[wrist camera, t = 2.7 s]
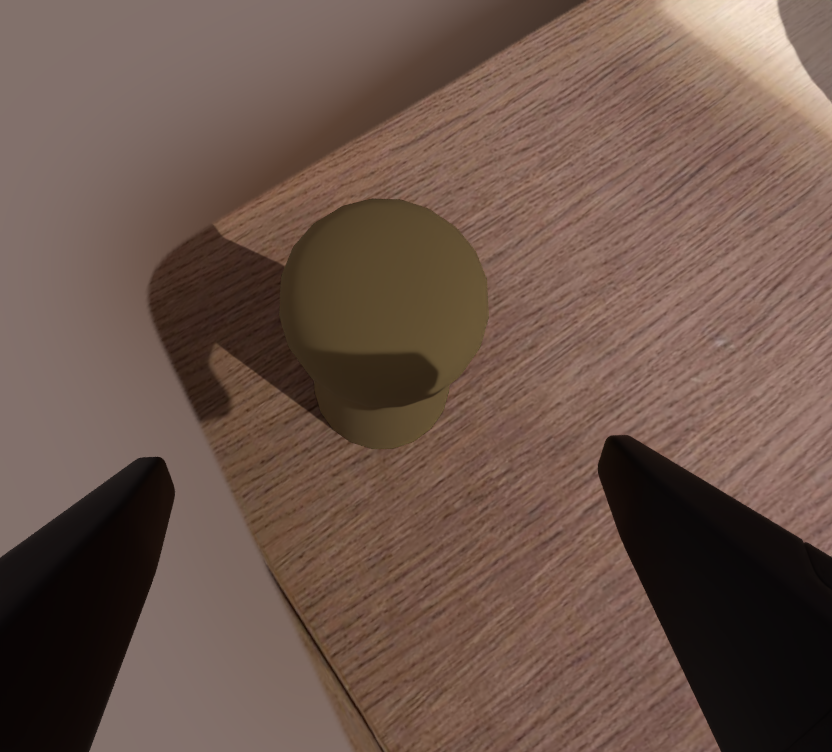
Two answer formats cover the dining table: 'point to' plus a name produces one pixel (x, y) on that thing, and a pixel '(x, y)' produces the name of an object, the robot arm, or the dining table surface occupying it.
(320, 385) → the cork
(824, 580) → the robot arm
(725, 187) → the dining table surface
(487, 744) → the dining table surface
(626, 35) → the dining table surface
